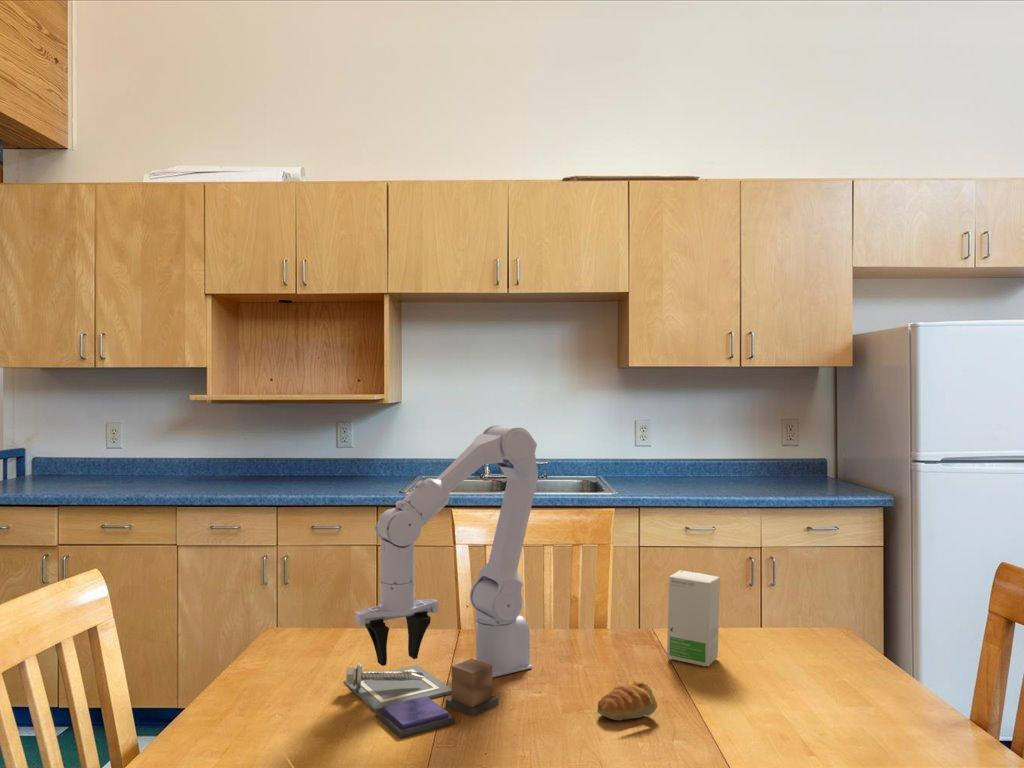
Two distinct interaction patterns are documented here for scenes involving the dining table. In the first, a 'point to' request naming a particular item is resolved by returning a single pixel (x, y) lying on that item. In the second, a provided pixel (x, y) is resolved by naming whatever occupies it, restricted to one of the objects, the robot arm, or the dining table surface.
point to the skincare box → (693, 617)
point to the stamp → (471, 688)
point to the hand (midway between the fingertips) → (397, 660)
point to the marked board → (400, 689)
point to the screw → (378, 676)
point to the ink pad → (414, 716)
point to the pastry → (628, 702)
